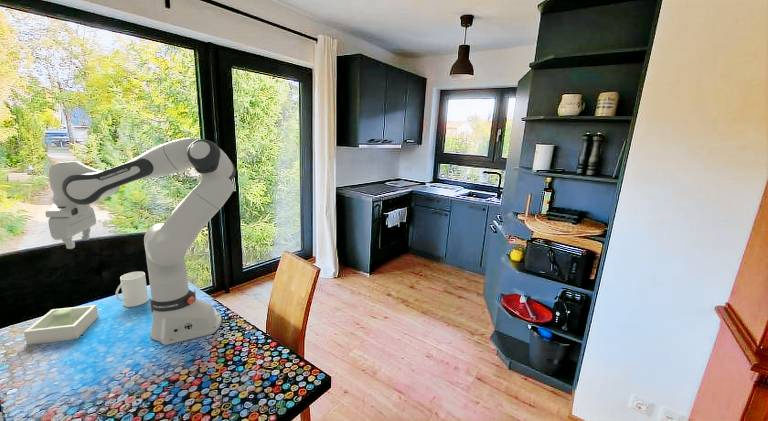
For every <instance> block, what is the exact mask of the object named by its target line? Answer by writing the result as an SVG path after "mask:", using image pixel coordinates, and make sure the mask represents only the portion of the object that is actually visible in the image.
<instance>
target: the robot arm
mask: <svg viewBox="0 0 768 421" xmlns="http://www.w3.org/2000/svg"><path fill="white" fill-rule="evenodd" d="M190 168H194V169H195V171H196V173H198V174H200V175H201V180H200V181H199V182H198V184H196V186H195V187H194V188H193V189H192V190H190V192H189V193H188V194H186V196H185V197H184V198H183V199H182V200H181V201H180V202H179V203H178V204H177V205H176V206H175V207H174V209H173V211H172V212H171V214H170V215H169V216H168V218H167V219H166V220H165V221H164V222H159V223H158V222H157V223H155V224H153V225H152V226H150V227H149V228H148V229H147V230H146V232H145V233H144V236H143V242H144V243H143V245H144V250H145V257H146V266H147V272H148V280H149V287H150V288H149V289H150V298H149V300H150V301H149V306H150V309H151V313H152V321H151V322H152V323H151V328H150V329H151V330H150V333H149V337H150V338H151V339H152V340H153V341H157V342H160V343H161V344H162V345H163V346H167V345H172V344H177V343H180V342H185V341H188V340H192V339H197V338H200V337H201V338H202V337H206V336H209V335H210V336H211V335H213V334H214V333H215V332H216V331H217V330H218V329H219V328H220V326H221V324H222V315H221V313H220V312H218V311H216V312H215V310H214V308H213V305H212V304H211V303H209V302H206V301H204V300H201V299H199V298H196V297H197V296H196V289H194V290H193V291H192V290H191V289H189V280H188V279H189V278H188V270H187V265H186V258H185V257H186V254H187V253H188V251H189V249H190V248H191V246H192V245H193V243H194V242H195V241H196V239H197V238H198V236H199V234H200V233H201V232H202V230H203V229H204V227H205V226H206V225H207V224H208V223H209V221H211V219H212V218H213V217H214V216H215V215H216V214H217V213H218V212H219V210H221V209H222V207H224V205H225V203H226V202H227V201H228V200H229V198H230V197H231V196H232V194H233V192H234V188H235V186H234V183H233V181H232V180H234V178H235V176H236V174H237V172H236V168H235V164H234V163H233V162H232V161H231V159H230V158H229V156H228V155H227V154H226V153H225V151H224V150H222V148H220V147H219V145H217V143H215V142H213V141H211V140H208V139H204V138H200V139H197V138H194V137H184V138H179V139H175V140H172V141H168V142H165V143H163V144H162V143H161V144H159V145H157V146H155V147H153V148H151V149H149V150H147V151H146V152H144V153H142V154H140V155H139V156H137V157H135V158H132V159H130V160H128V161H127V162H124V163H123V164H120V165H117V166H114V167H111V168H107V169H105V170H100V169H96V168H92V167H90V166H86V165H85V164H84V163H81V162H80V161H77V160H70V161H69V160H68V161H60V162H55V163H53V164H51V165H50V166H49V169H48V178H49V179H48V180H49V185H50V186H49V187H50V189H51V191H52V193H53V196H52V201H53V202H52V203H51V206H50V207H49V208H48V209H47V210H46V211H45V212H44V213H45V218H48V229H49V231H50V232H49V233H50V236H51V238H52V239H53V240H55V241H56V240H58V241H62V242H63V243H64V244H65V247H66V249H67V250H68V249H69V250H73V249H74V248H75V247H76V242H73V237H74V236H76V235H78V234H79V233H82V235H81V236H80V237H81V240H82V241H88V240H90V233H91V227H93V226H95V225H96V224H97V218H96V214H95V210H94V207H92V206H91V204H93V203H94V202H97V201H100V200H102V199H106V198H109V197H110V196H113V195H115V194H117V192H119V190H120V188H121V186H125V185H127V184H129V183H132V182H135V181H140V180H146V179H152V178H160V177H165V176H170V175H173V174H177V173H179V172H182V171H185V170H188V169H190Z"/></svg>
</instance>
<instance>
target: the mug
mask: <svg viewBox="0 0 768 421" xmlns="http://www.w3.org/2000/svg"><path fill="white" fill-rule="evenodd" d="M119 280H120V284H119V285H118V286H117V288H116V290H115V298H116V299H117V300H118V301H119V302H123V303H122V305H123V307H127V308H128V307H129V308H131V307H133V308H134V307H138V306H141V305H143V304H146V303H147V302H148V301H149V300H150V298H149V293H148V287H147V279H146V273H145V272H144V271H131V272H128V273H124V274H123V275H121V276H120V277H119ZM120 289H121V293H122V298H120V297H119V291H120Z"/></svg>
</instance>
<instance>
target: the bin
mask: <svg viewBox="0 0 768 421" xmlns="http://www.w3.org/2000/svg"><path fill="white" fill-rule="evenodd" d="M62 309H71V310H72V314H73V320H74V324H73V325H65V326H57V327H54V326H53V321H52V317H51V314H52V313H54V312H56V311H58V310H62ZM98 318H99V312H98V306H97V305H96V304H91V305H82V306H73V307H71V306H70V307H63V308H53V309H50V310H49V311H48V312H47V313H46V314H44V315H43V316H41V317H40V318H39V319H38V320H36V321H35V322H34V323H33V324H31V326H29V327H28V328H27V329H25V330H24V331H23V334H24V338H25V343H26V346H31V345H39V344H48V343H55V342H62V341H63V342H64V341H70V340H77V339H79V337H81V335H82V334H84V332H86V330H87V329H88V328H89V327H90V326H91V325H92V324H93V323H94V322H95V321H96V320H97V319H98Z"/></svg>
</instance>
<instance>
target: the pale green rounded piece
mask: <svg viewBox="0 0 768 421" xmlns="http://www.w3.org/2000/svg"><path fill="white" fill-rule="evenodd" d="M51 317H52V321H53V326H54V327H57V326H65V325H73V324H74V320H73V314H72V310H71V309H62V310H58V311H56V312H54V313H52V314H51Z"/></svg>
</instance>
